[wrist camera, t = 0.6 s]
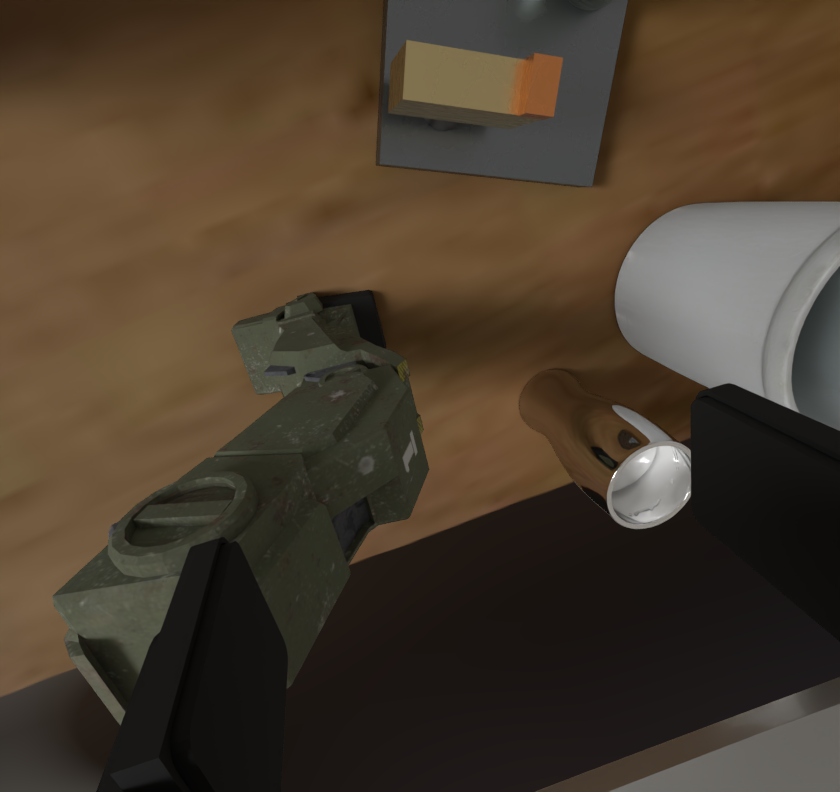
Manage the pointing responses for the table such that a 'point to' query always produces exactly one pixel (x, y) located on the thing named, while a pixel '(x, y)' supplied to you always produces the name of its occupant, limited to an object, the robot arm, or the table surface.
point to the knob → (472, 86)
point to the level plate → (518, 38)
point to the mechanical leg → (265, 492)
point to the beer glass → (609, 450)
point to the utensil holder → (741, 299)
